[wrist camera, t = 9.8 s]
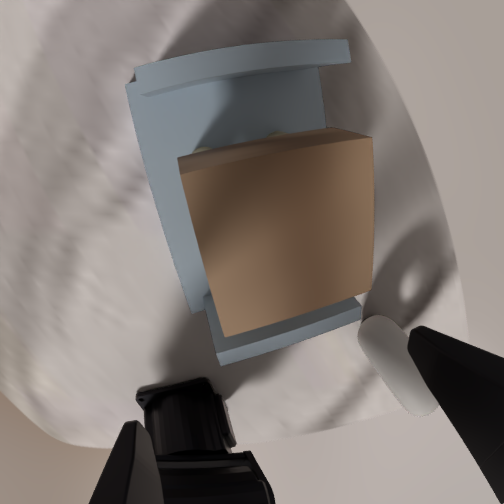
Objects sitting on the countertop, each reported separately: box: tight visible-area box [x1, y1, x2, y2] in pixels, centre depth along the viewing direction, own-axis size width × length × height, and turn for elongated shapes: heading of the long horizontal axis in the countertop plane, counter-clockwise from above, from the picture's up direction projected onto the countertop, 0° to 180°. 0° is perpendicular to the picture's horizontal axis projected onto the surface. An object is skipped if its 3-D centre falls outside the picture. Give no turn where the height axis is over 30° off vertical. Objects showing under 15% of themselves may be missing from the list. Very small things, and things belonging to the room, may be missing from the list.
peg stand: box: [125, 39, 362, 366], centre depth 15 cm, size 10×14×6 cm
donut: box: [358, 315, 439, 417], centre depth 22 cm, size 10×4×10 cm, turn 37°
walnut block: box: [177, 127, 374, 337], centre depth 12 cm, size 6×6×3 cm
